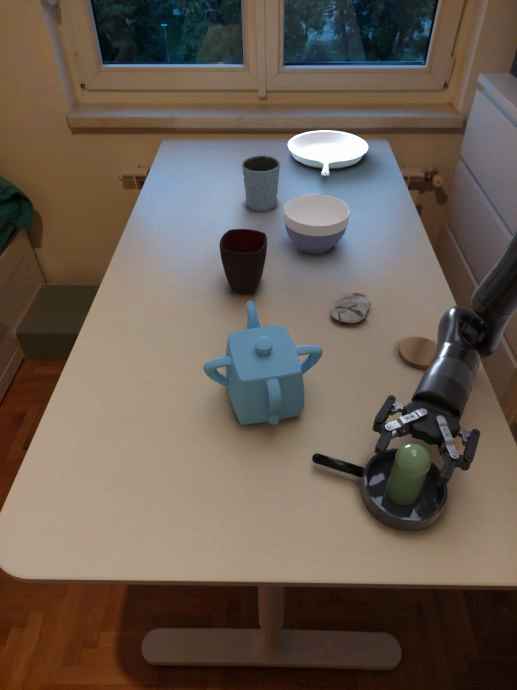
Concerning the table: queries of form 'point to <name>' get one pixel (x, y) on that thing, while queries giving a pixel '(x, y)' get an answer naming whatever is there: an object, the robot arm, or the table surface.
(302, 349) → the teapot
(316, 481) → the table surface
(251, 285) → the cup
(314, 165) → the pan
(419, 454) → the green capsule
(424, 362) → the disc
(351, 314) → the stone
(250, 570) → the table surface
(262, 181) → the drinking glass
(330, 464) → the pan handle
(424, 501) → the steel pan
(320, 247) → the bowl
